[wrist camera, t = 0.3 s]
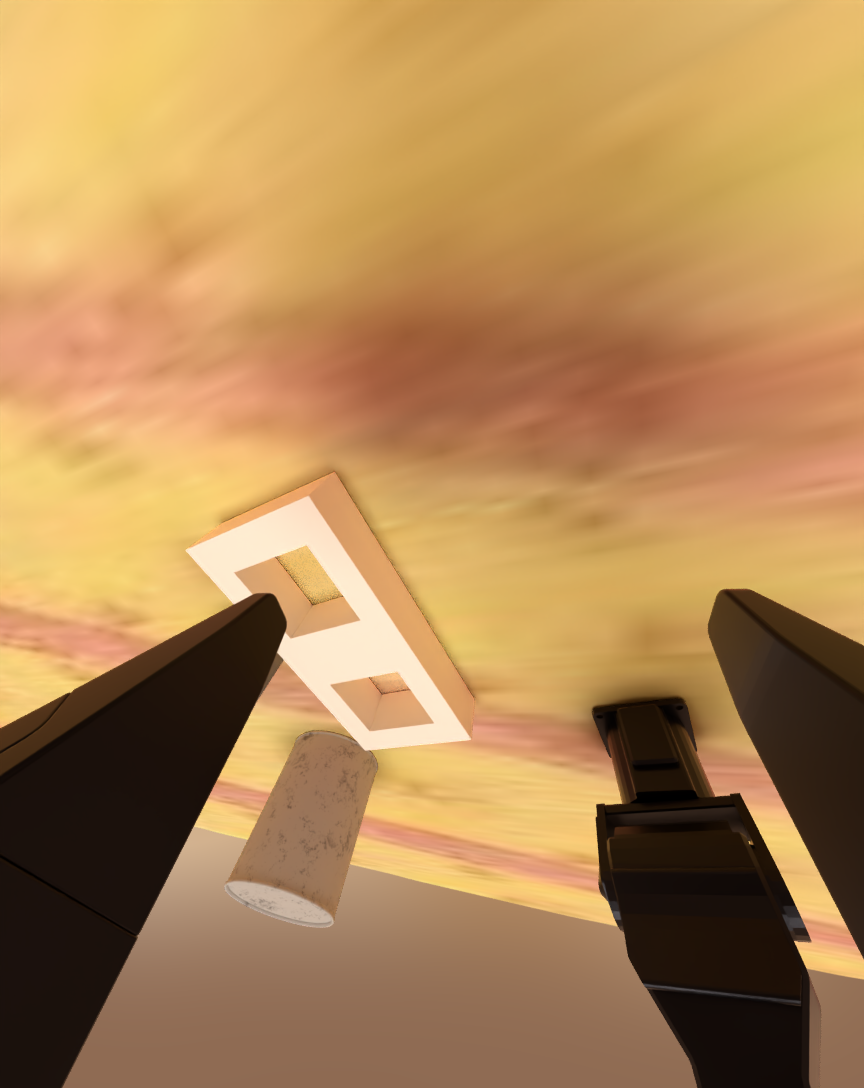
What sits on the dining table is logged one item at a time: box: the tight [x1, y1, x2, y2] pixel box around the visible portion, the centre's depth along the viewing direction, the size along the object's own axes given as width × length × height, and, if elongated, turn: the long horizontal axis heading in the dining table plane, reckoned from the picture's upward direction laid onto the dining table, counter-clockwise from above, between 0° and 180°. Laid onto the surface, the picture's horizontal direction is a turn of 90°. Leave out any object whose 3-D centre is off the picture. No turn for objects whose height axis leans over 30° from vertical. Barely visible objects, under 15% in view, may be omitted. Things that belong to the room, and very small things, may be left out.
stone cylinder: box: [224, 731, 378, 927], centre depth 35 cm, size 10×10×12 cm
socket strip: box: [186, 472, 475, 751], centre depth 27 cm, size 22×10×4 cm, turn 26°
